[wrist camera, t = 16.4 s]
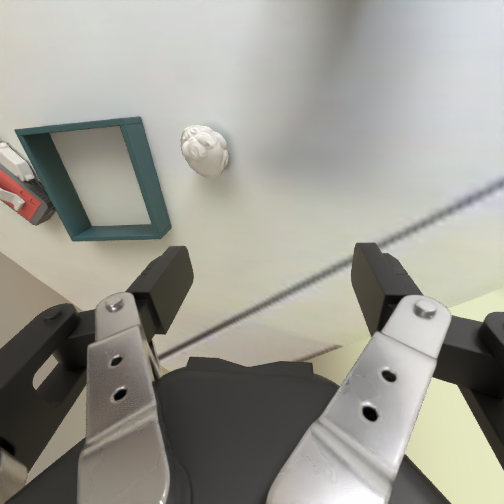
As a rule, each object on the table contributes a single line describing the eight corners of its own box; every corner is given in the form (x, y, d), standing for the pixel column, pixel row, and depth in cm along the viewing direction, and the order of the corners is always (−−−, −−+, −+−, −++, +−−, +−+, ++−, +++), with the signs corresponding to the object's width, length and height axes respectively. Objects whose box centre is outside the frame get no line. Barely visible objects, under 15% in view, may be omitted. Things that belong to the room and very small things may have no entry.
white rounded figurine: (218, 114, 34) (203, 115, 28) (241, 161, 37) (232, 172, 31) (183, 135, 36) (162, 140, 30) (207, 178, 39) (193, 192, 33)
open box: (41, 127, 38) (13, 129, 34) (140, 116, 35) (122, 118, 31) (89, 230, 46) (72, 241, 43) (171, 227, 44) (160, 239, 40)
